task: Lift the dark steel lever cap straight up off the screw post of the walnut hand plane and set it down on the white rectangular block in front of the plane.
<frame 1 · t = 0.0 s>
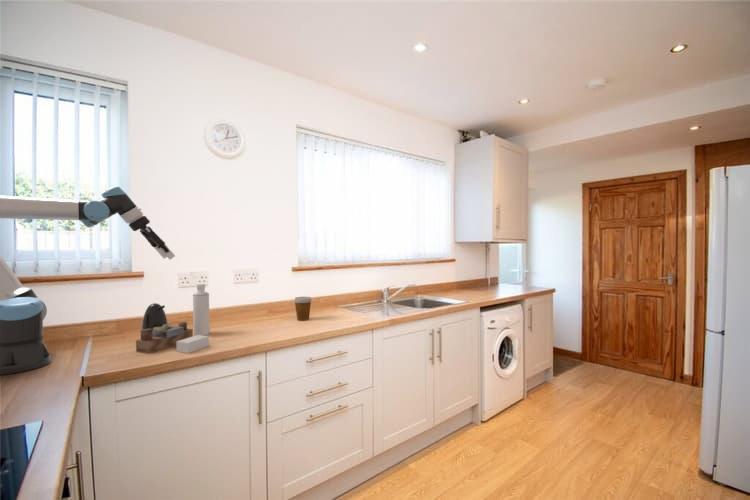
hand: (169, 257, 158), 36 cm above the worktop, tool tilted 35°, fingers open, 13 cm apart
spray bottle: (201, 334, 158), on the worktop
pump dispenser: (155, 336, 155), on the worktop
plane body: (166, 345, 141), on the worktop
lever cap: (165, 334, 141), point 4 cm above the worktop, touching plane body
white rectangular block: (193, 348, 136), on the worktop
disposable coffee cup: (303, 319, 187), on the worktop
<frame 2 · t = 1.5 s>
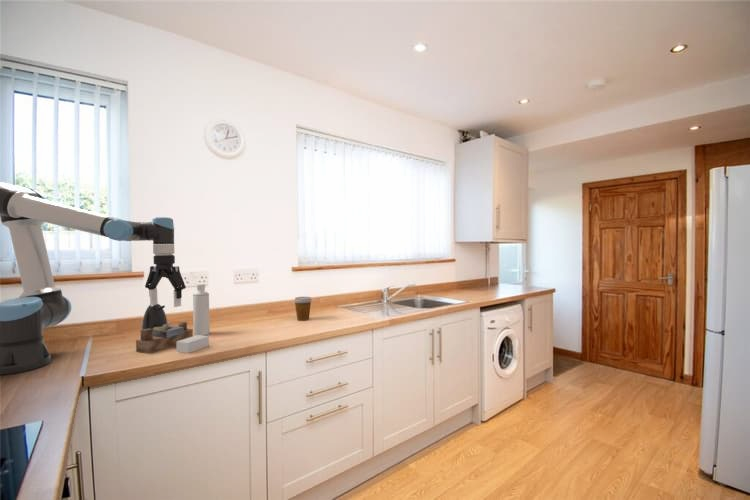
hand: (165, 305, 141), 16 cm above the worktop, tool pointing down, fingers open, 13 cm apart
nothing on the worktop moved.
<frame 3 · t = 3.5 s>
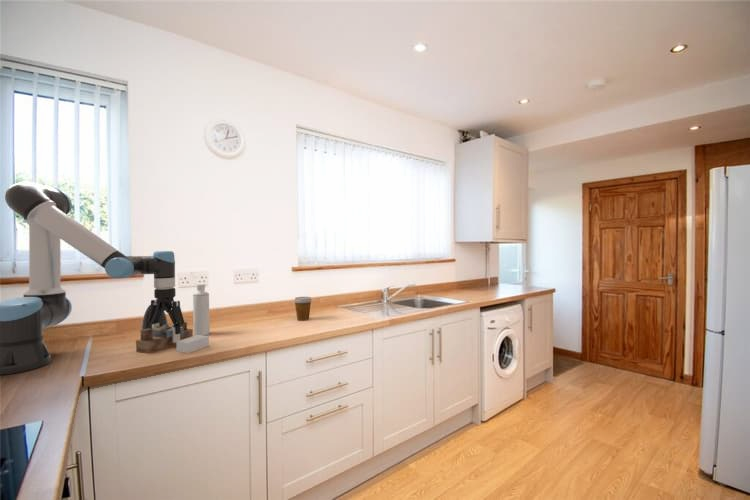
hand: (166, 340, 141), 2 cm above the worktop, tool pointing down, fingers closed on lever cap, 11 cm apart
lever cap: (165, 334, 141), point 5 cm above the worktop, touching gripper, plane body
everything else where it was.
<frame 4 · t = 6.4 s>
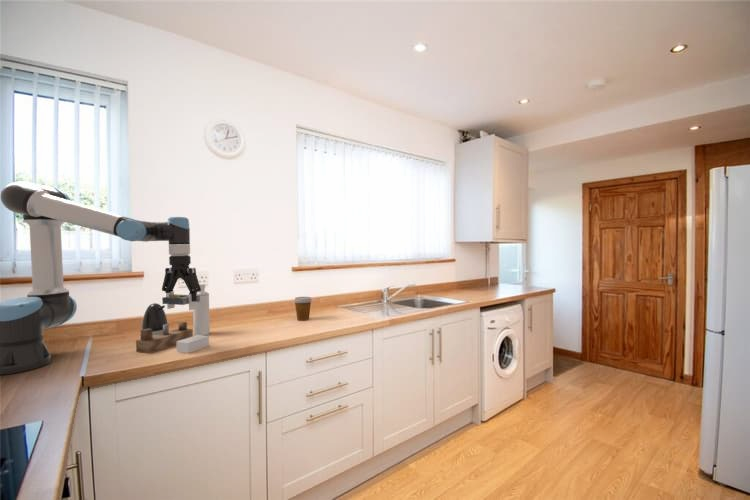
hand: (181, 308, 138), 16 cm above the worktop, tool pointing down, fingers closed on lever cap, 11 cm apart
lever cap: (181, 302, 138), point 18 cm above the worktop, touching gripper
everything else where it was.
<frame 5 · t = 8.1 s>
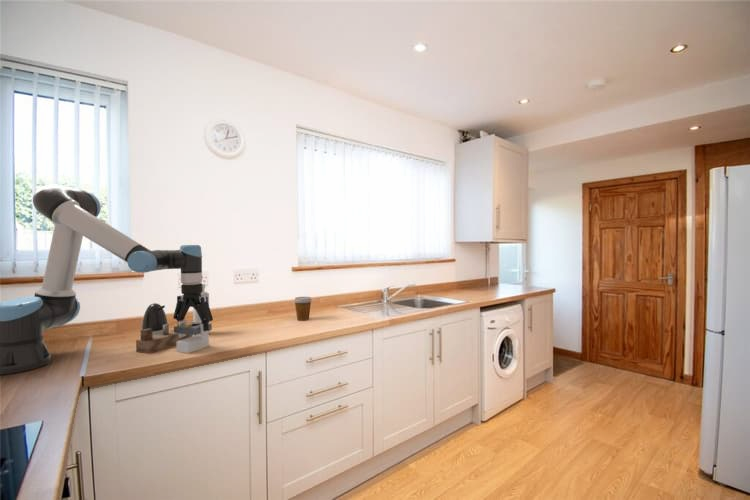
hand: (193, 337, 136), 4 cm above the worktop, tool pointing down, fingers closed on lever cap, 11 cm apart
lever cap: (193, 331, 136), point 7 cm above the worktop, touching gripper
everything else where it was.
when the fingers open (3 cm above the worktop, at t = 9.3 s): lever cap drops 1 cm, resting on white rectangular block.
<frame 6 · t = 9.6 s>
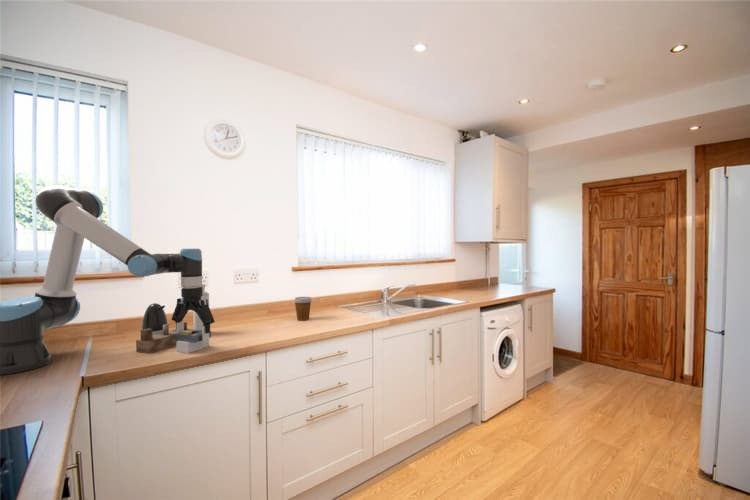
hand: (193, 339, 136), 4 cm above the worktop, tool pointing down, fingers open, 13 cm apart
lever cap: (193, 338, 136), point 4 cm above the worktop, touching white rectangular block
everything else where it was.
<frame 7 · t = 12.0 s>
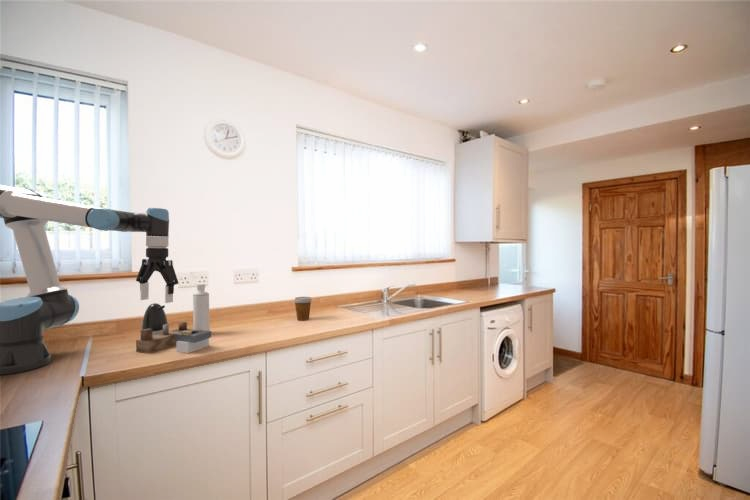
hand: (156, 301, 134), 20 cm above the worktop, tool pointing down, fingers open, 13 cm apart
nothing on the worktop moved.
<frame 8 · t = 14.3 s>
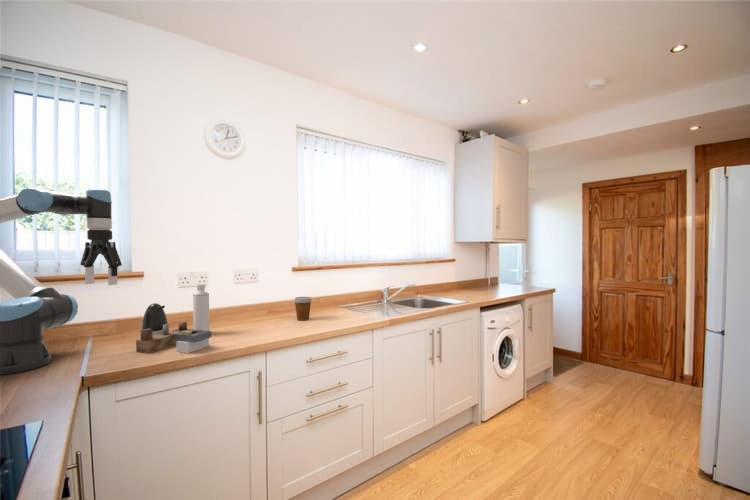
hand: (101, 284, 132), 27 cm above the worktop, tool pointing down, fingers open, 13 cm apart
nothing on the worktop moved.
at the end: lever cap 0.0 cm off-centre on the white rectangular block, point 4.0 cm above the white rectangular block's base; lever cap tilted 0°; the gripper is holding nothing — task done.
